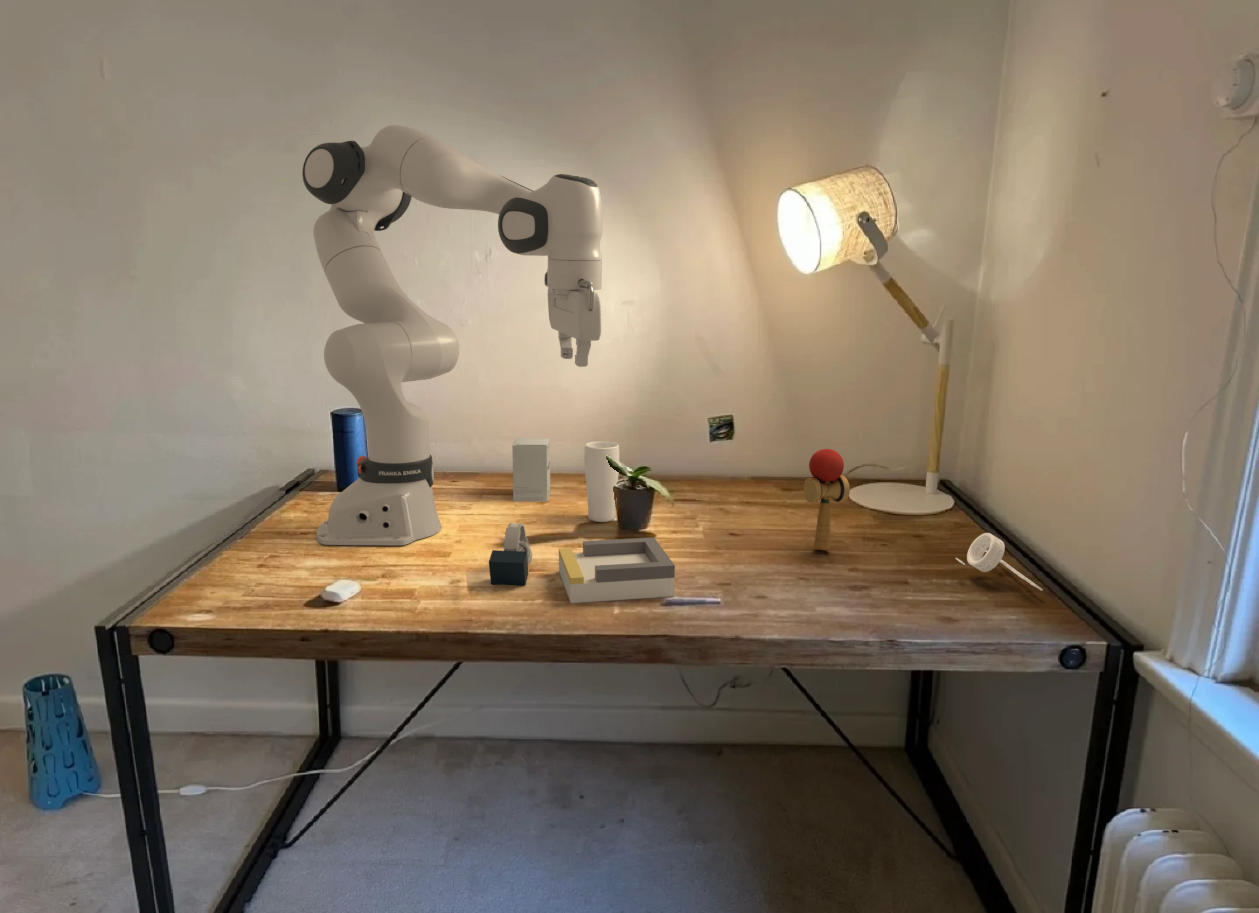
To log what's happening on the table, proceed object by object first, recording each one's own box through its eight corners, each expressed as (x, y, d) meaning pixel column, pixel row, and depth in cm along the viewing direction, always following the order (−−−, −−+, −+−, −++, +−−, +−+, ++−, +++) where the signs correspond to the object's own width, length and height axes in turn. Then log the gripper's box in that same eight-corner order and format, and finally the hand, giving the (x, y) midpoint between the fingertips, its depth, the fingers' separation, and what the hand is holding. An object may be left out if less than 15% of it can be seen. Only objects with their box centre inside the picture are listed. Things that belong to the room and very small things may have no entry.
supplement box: (548, 504, 190) (547, 444, 187) (512, 503, 190) (511, 444, 187) (551, 494, 197) (550, 437, 194) (516, 494, 197) (515, 437, 195)
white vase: (618, 524, 177) (618, 448, 173) (583, 524, 177) (583, 448, 173) (619, 514, 183) (620, 441, 180) (585, 514, 183) (585, 440, 180)
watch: (526, 595, 145) (536, 555, 155) (523, 553, 141) (534, 515, 151) (491, 593, 146) (503, 553, 155) (487, 552, 142) (500, 513, 151)
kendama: (839, 541, 168) (845, 445, 164) (848, 552, 161) (855, 453, 157) (797, 541, 167) (802, 445, 163) (805, 553, 161) (810, 453, 157)
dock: (570, 603, 137) (570, 571, 136) (558, 571, 151) (558, 542, 150) (674, 596, 141) (674, 565, 139) (653, 565, 154) (654, 537, 153)
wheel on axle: (937, 543, 160) (959, 512, 159) (982, 571, 161) (1004, 541, 160) (981, 579, 142) (1006, 544, 141) (1031, 610, 144) (1056, 576, 143)
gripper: (611, 281, 141) (610, 370, 145) (577, 275, 160) (576, 354, 163) (572, 281, 139) (571, 371, 143) (541, 274, 158) (541, 354, 161)
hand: (573, 362), depth 153 cm, fingers open, 8 cm apart
